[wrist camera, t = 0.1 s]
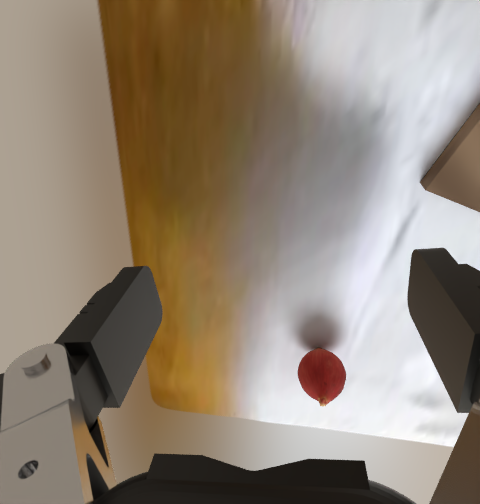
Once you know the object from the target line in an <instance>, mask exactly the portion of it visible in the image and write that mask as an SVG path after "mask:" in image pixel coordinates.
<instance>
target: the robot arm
mask: <svg viewBox="0 0 480 504" xmlns="http://www.w3.org/2000/svg"><path fill="white" fill-rule="evenodd" d="M408 307H409V312H410V315H411V317H412V319H413V322H414V324H415V326H416V328H417V330H418V332H419V334H420V336H421V338H422V340H423V342H424V344H425V346H426V348H427V351H428V353H429V355H430V357H431V359H432V361H433V363H434V365H435V367H436V369H437V371H438V373H439V375H440V377H441V380H442V382H443V384H444V386H445V388H446V390H447V392H448V394H449V396H450V398H451V400H452V402H453V404H454V406H455V409H456V411H457V413H469V414H468V417H467V419H466V421H465V424H464V426H463V428H462V430H461V433H460V435H459V437H458V440H457V442H456V444H455V446H454V449H453V451H452V453H451V455H450V458H449V460H448V462H447V465H446V467H445V469H444V472H443V474H442V476H441V479H440V481H439V483H438V485H437V488H436V490H435V492H434V494H433V497H432V499H431V501H430V504H480V271H479V270H477V269H475V268H473V267H471V266H469V265H468V264H458V263H457V262H456V261H455V260H454V258H453V257H452V256H451V255H450V254H449V252H448V251H447V250H446V249H445V248H431V249H416V250H414V251H413V253H412V257H411V266H410V276H409V286H408ZM161 320H162V305H161V302H160V298H159V295H158V292H157V288H156V285H155V282H154V278H153V275H152V272H151V270H150V268H149V267H148V266H137V267H124V268H123V269H122V270H121V271H120V272H119V274H118V275H117V276H116V277H115V279H114V280H113V281H112V282H111V283H109V284H107V285H106V286H105V287H103V288H102V289H100V290H99V291H97V292H96V293H95V294H94V295H93V297H92V298H91V299H90V300H89V301H88V303H87V305H85V306H84V307H83V309H82V310H81V311H80V314H78V315H77V316H76V317H75V318H74V320H73V321H72V322H71V323H70V325H69V326H68V327H67V328H66V329H65V331H64V332H63V333H62V334H61V335H60V337H59V338H58V339H57V340H56V341H55V343H54V344H46V345H41V346H38V347H36V348H34V349H31V350H29V351H27V352H25V353H24V354H22V355H21V356H19V357H18V358H17V359H16V360H14V362H12V364H10V366H9V367H8V368H7V370H6V372H5V373H3V374H0V504H416V503H415V502H413V501H412V500H410V499H409V498H407V497H405V496H404V495H402V494H400V493H399V492H397V491H395V490H393V489H391V488H389V487H386V486H384V485H382V484H379V483H377V482H374V481H370V480H368V476H367V471H366V466H365V461H354V460H324V459H306V460H302V461H297V462H293V463H289V464H285V465H280V466H276V467H271V468H267V469H263V470H258V471H249V470H245V469H243V468H240V467H237V466H233V465H230V464H227V463H224V462H221V461H218V460H215V459H212V458H209V457H206V456H203V455H179V454H154V456H153V460H152V462H151V465H150V469H149V471H148V472H145V473H142V474H139V475H137V476H134V477H131V478H129V479H127V480H125V481H123V482H121V483H119V484H117V481H116V478H115V474H114V470H113V466H112V462H111V458H110V455H109V451H108V447H107V443H106V439H105V435H104V431H103V427H102V423H101V421H100V419H99V416H98V415H99V413H100V412H101V410H102V408H103V407H104V408H106V407H107V408H109V407H110V408H112V407H113V408H119V407H120V406H121V404H122V402H123V400H124V398H125V396H126V394H127V392H128V390H129V387H130V386H131V384H132V381H133V379H134V377H135V375H136V373H137V371H138V369H139V367H140V365H141V363H142V361H143V359H144V357H145V355H146V353H147V350H148V348H149V346H150V344H151V342H152V340H153V338H154V336H155V334H156V332H157V330H158V328H159V326H160V323H161Z"/></svg>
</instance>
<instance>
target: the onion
mask: <svg viewBox="0 0 480 504" xmlns="http://www.w3.org/2000/svg"><path fill="white" fill-rule="evenodd" d="M298 378H299V381H300V384H301V386H302V388H303V390H304V391H305V392H306V393H307V394H308V395H309V396H310V397H312V398H313V399H315V400H317V401H319V403H320V406H326V404H328V403H329V402H330V401H332V400H334V399H335V398H336V397H337V396H338V395H339V394H340V393H341V392H342V390H343V388H344V384H345V380H346V371H345V369H344V366H343V364H342V362H341V360H340V359H339V358H338V357H337V356H336V355H334V354H333V353H331V352H329V351H327V350H323V349H321V348H316V349H315V350H313V351H310V352H309V353H307V354H306V355H305V356H304V357H303V358H302V360H301V362H300V364H299V367H298Z"/></svg>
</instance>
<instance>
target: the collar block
mask: <svg viewBox="0 0 480 504" xmlns="http://www.w3.org/2000/svg"><path fill="white" fill-rule="evenodd" d="M420 183H421V185H422V186H423V187H424V189H425V190H427V191H429V192H432V193H434V194H436V195H439V196H441V197H444V198H446V199H449V200H451V201H454V202H456V203H459V204H461V205H464V206H466V207H468V208H471V209H473V210H476V211H478V212H480V104H479V105H478V106H477V108H476V109H475V110H474V111H473V113H472V114H471V115H470V117H469V118H468V119H467V121H466V122H465V123H464V125H463V126H462V127H461V129H460V130H459V131H458V133H457V134H456V135H455V137H454V138H453V139H452V141H451V142H450V143H449V145H448V146H447V147H446V149H445V150H444V151H443V153H442V154H441V155H440V157H439V158H438V159H437V161H436V162H435V163H434V164H433V166H432V167H431V168H430V170H429V171H428V172H427V174H426V175H425V176H424V178H423V179H422V180H421V182H420Z"/></svg>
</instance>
